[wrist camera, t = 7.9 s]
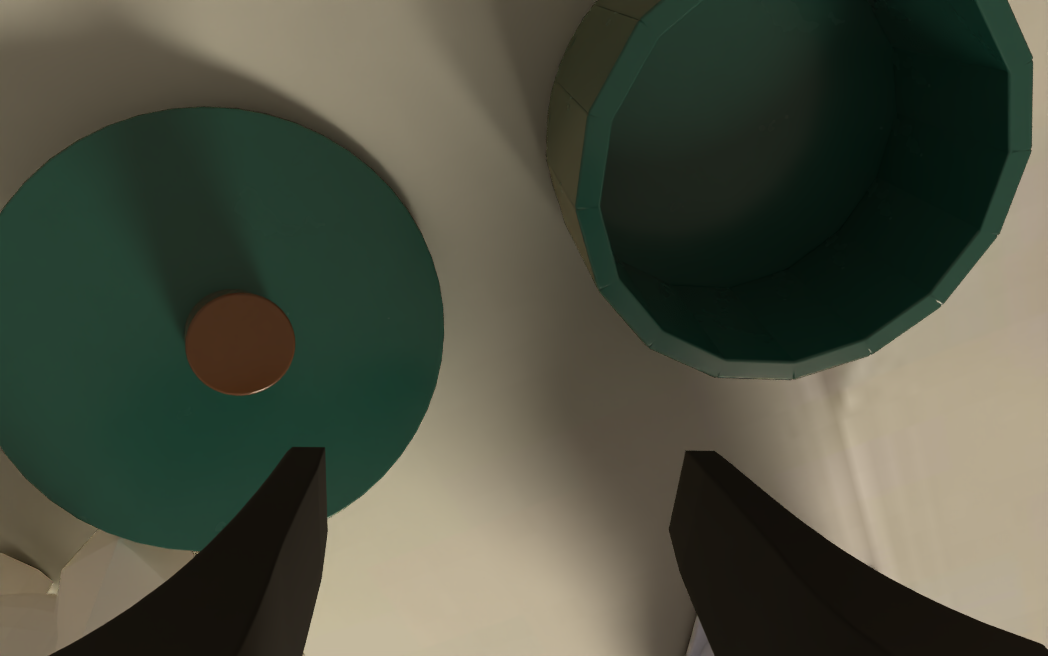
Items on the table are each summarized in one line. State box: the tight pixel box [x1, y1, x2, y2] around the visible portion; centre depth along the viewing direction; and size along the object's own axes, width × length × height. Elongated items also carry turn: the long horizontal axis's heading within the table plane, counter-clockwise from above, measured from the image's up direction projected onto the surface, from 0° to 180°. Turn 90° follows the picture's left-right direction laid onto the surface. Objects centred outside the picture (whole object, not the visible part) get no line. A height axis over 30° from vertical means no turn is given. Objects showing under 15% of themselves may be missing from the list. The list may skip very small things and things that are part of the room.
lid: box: [0, 106, 444, 551], centre depth 20 cm, size 12×12×4 cm
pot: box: [546, 0, 1033, 380], centre depth 21 cm, size 11×11×6 cm
